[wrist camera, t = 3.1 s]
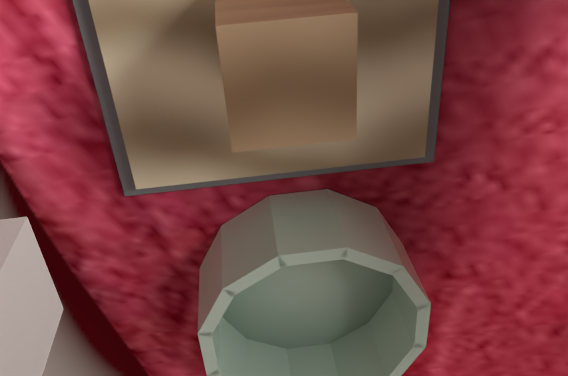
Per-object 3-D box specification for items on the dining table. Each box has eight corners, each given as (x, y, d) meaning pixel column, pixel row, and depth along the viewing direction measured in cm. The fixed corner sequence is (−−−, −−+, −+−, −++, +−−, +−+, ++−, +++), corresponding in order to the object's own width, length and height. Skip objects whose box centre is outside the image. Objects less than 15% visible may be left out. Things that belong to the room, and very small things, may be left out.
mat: (25, -190, 22) (21, -191, 22) (466, -220, 24) (472, -222, 23) (126, 191, 33) (124, 196, 32) (430, 157, 34) (434, 161, 33)
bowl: (187, 204, 34) (182, 267, 29) (406, 179, 34) (439, 236, 29) (216, 354, 41) (217, 425, 36) (395, 331, 42) (420, 397, 37)
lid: (53, -163, 22) (-29, -170, 15) (447, -192, 24) (558, -212, 16) (138, 180, 32) (114, 284, 24) (419, 149, 33) (481, 239, 25)
